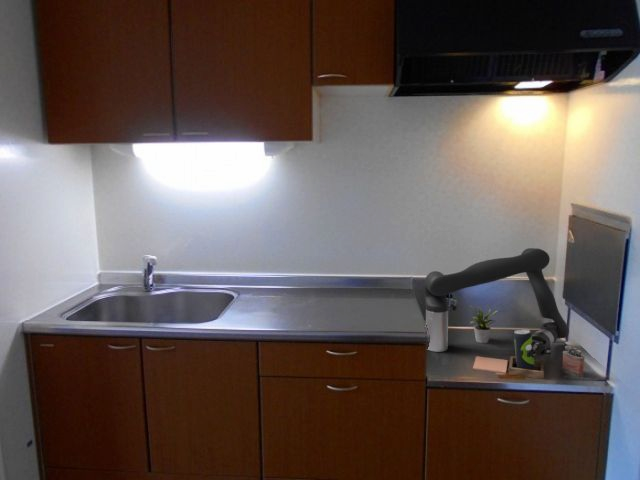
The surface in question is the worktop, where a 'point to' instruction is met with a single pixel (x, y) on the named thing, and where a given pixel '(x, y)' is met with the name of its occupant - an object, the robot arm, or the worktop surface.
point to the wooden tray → (525, 371)
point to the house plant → (482, 326)
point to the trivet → (490, 364)
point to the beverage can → (523, 343)
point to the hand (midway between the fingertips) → (524, 353)
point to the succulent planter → (573, 361)
